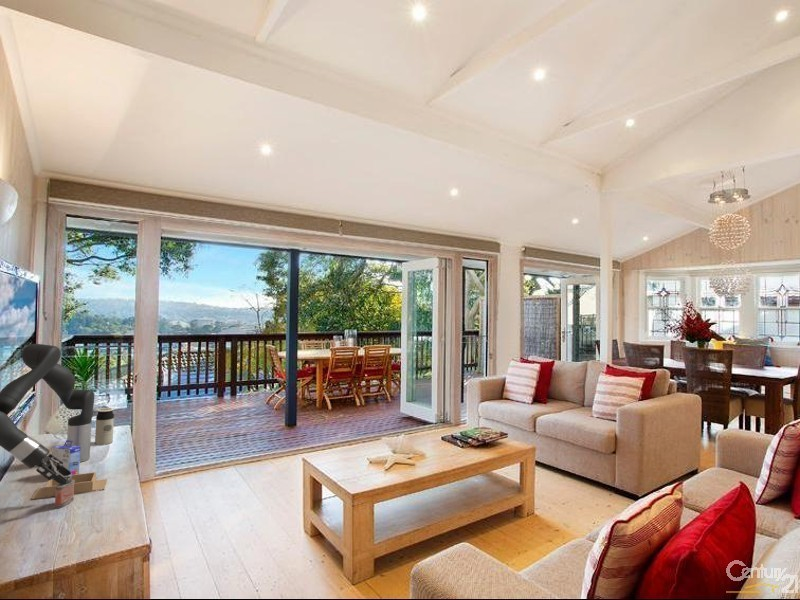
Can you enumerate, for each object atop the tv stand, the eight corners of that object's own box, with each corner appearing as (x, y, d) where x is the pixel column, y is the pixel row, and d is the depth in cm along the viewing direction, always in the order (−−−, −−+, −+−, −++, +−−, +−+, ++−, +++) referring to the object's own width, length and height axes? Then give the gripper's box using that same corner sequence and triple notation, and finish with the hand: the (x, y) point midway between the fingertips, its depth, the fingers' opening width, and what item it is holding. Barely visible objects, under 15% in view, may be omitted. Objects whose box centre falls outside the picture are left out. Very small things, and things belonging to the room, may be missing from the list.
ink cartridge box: (80, 473, 195) (81, 440, 195) (68, 478, 190) (70, 444, 190) (61, 471, 197) (63, 438, 197) (49, 475, 192) (51, 442, 192)
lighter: (67, 499, 169) (68, 472, 170) (76, 499, 170) (77, 472, 170) (51, 508, 161) (53, 480, 162) (61, 508, 162) (62, 480, 162)
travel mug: (93, 442, 239) (95, 408, 239) (111, 440, 244) (112, 407, 245) (96, 446, 233) (98, 411, 233) (114, 443, 238) (115, 409, 239)
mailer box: (40, 485, 181) (41, 475, 182) (108, 476, 192) (108, 467, 193) (31, 499, 168) (31, 489, 168) (104, 489, 179) (104, 479, 179)
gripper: (34, 449, 156) (72, 477, 161) (43, 438, 169) (79, 464, 174) (14, 466, 153) (53, 494, 159) (25, 454, 166) (61, 480, 171)
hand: (67, 478), depth 166 cm, fingers open, 8 cm apart
